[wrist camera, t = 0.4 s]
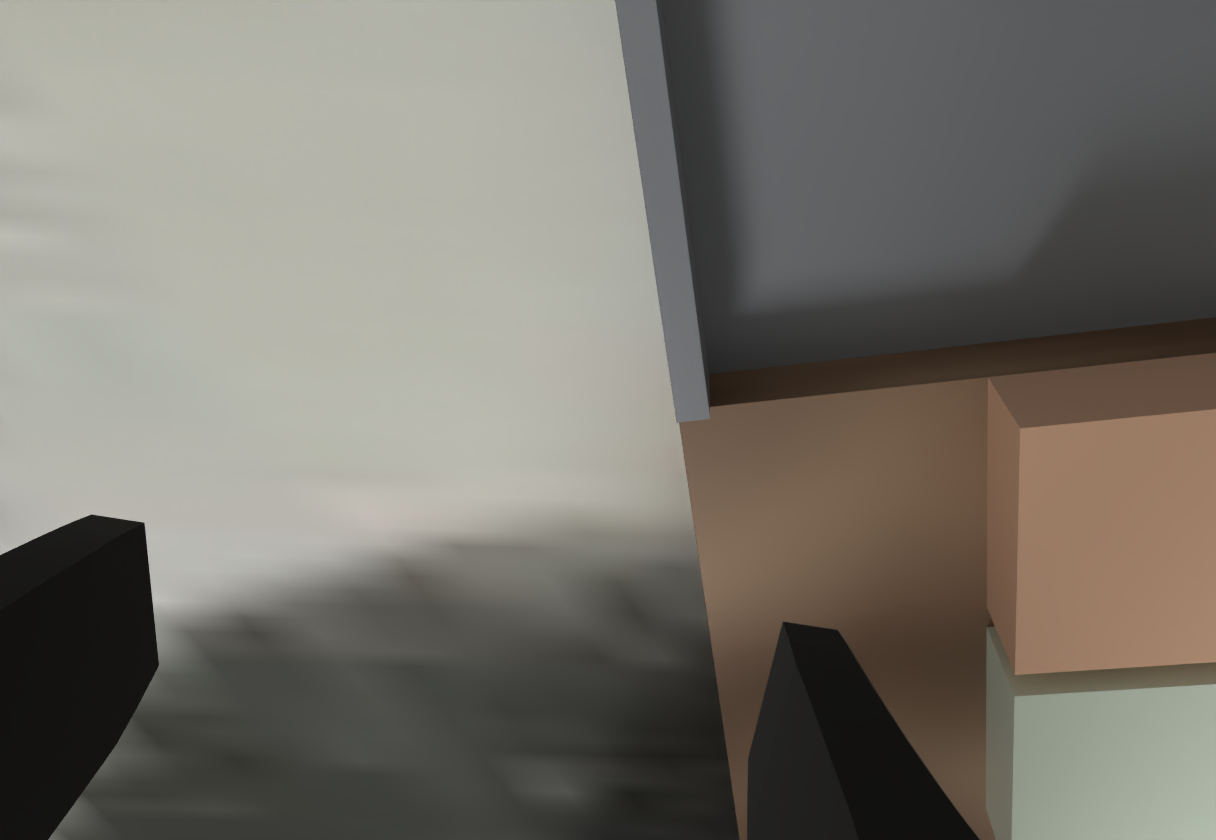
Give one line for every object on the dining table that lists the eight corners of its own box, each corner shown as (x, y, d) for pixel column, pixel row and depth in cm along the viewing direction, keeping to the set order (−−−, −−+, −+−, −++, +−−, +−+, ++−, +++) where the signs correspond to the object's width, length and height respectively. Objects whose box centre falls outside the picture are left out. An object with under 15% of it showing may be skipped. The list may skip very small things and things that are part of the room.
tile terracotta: (1260, 586, 19) (1317, 655, 17) (987, 606, 20) (1014, 675, 18) (1296, 344, 17) (1367, 394, 15) (987, 376, 17) (1019, 428, 16)
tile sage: (1228, 797, 21) (1277, 876, 19) (985, 808, 22) (1010, 886, 20) (1256, 607, 19) (1313, 678, 17) (986, 627, 20) (1014, 696, 18)
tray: (1570, 265, 18) (1756, 339, 15) (680, 367, 20) (675, 448, 17) (1798, -587, 13) (2152, -752, 10) (583, -321, 15) (551, -383, 12)
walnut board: (1421, 826, 24) (1479, 900, 22) (748, 853, 26) (751, 921, 24) (1570, 265, 18) (1667, 304, 16) (680, 367, 20) (677, 410, 18)
